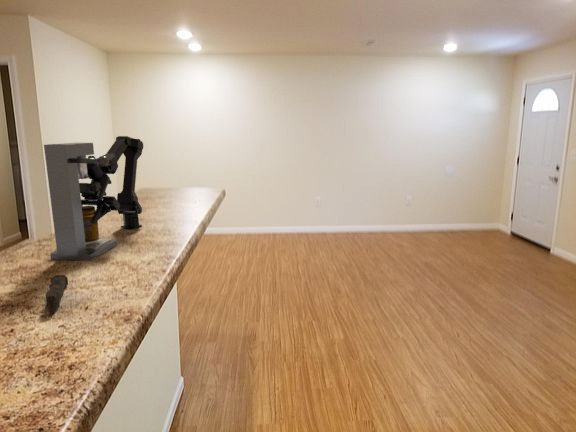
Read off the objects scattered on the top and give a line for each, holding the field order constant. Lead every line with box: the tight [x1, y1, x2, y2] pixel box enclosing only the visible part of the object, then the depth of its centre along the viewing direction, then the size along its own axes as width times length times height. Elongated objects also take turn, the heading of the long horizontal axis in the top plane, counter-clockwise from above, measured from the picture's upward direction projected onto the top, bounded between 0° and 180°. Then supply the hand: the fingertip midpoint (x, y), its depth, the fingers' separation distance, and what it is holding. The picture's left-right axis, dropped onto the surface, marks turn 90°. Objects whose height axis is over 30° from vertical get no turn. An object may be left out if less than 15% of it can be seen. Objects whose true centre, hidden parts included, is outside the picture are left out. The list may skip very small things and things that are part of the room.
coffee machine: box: [43, 142, 118, 261], centre depth 138 cm, size 20×22×38 cm
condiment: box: [82, 205, 104, 243], centre depth 143 cm, size 7×8×12 cm
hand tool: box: [45, 274, 69, 316], centre depth 103 cm, size 19×4×5 cm, turn 21°
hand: (84, 222), depth 141 cm, fingers closed on condiment, 6 cm apart
